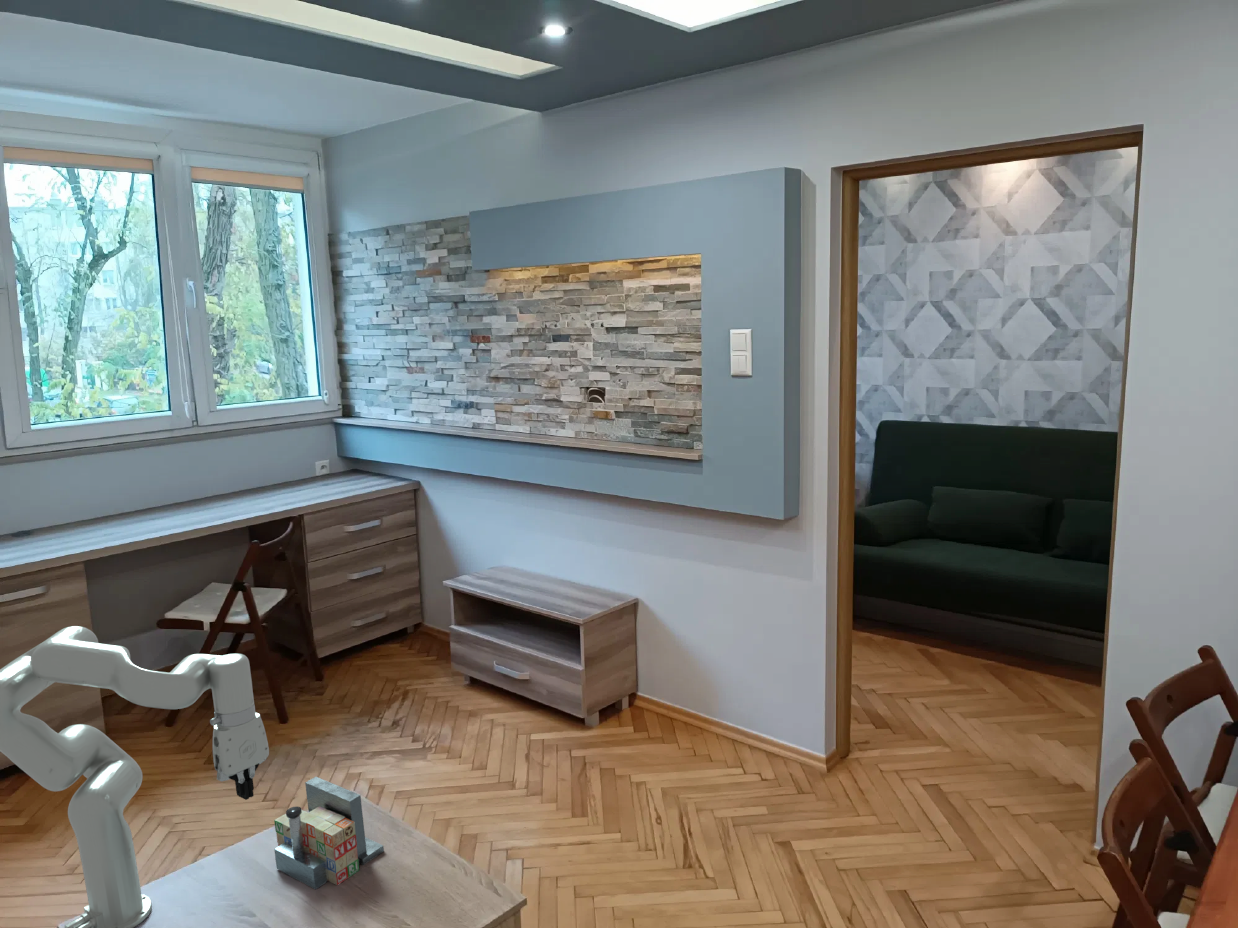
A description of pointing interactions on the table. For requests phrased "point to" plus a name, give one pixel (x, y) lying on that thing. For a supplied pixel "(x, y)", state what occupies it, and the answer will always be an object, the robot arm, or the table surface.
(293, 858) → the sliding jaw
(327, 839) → the stack of blocks
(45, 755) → the robot arm
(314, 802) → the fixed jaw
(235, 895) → the table surface
